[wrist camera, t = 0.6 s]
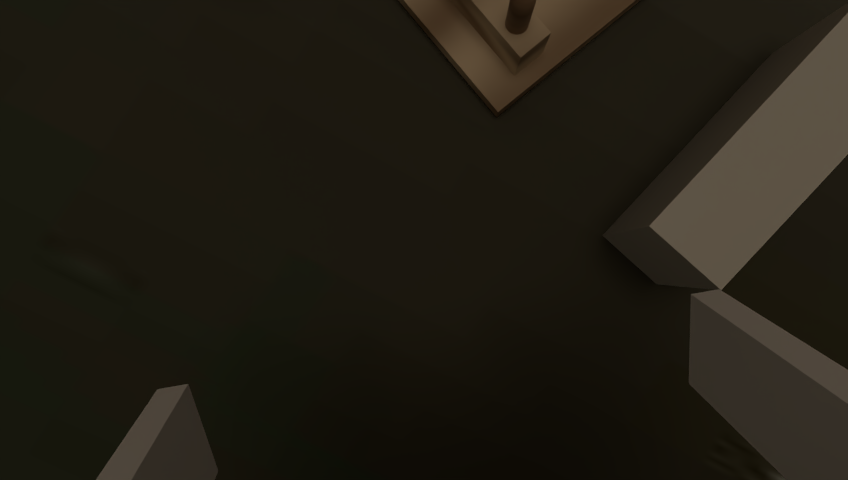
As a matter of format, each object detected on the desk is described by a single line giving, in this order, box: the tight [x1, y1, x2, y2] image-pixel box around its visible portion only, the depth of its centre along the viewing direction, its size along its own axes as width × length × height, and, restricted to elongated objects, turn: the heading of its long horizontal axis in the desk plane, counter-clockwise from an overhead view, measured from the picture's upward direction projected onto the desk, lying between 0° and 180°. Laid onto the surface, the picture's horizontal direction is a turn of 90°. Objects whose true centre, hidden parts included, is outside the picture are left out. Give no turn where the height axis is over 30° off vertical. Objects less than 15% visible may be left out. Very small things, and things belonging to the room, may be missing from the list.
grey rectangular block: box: [602, 3, 848, 290], centre depth 25 cm, size 4×14×7 cm, turn 137°
